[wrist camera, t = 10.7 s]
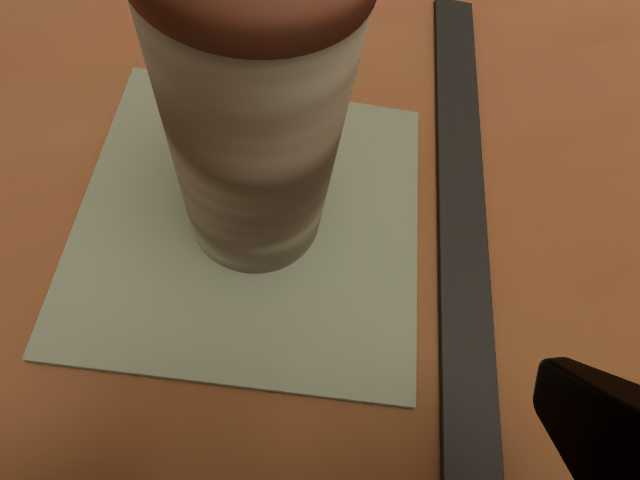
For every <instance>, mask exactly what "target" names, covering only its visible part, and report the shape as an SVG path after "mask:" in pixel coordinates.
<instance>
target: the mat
mask: <svg viewBox="0 0 640 480" xmlns="http://www.w3.org/2000/svg"><path fill="white" fill-rule="evenodd" d="M417 209H418V113H417V112H411V111H405V110H398V109H392V108H386V107H380V106H373V105H367V104H361V103H355V102H349V105H348V109H347V113H346V117H345V121H344V126H343V130H342V134H341V138H340V142H339V146H338V150H337V154H336V158H335V162H334V166H333V171H332V175H331V179H330V183H329V187H328V191H327V195H326V199H325V203H324V207H323V211H322V216H321V220H320V224H319V228H318V231H317V234H316V237H315V239H314V241H313V243H312V245H311V246H310V248H309V249H308V250H307V252H306V253H305V254H304V255H303V256H302V257H301V258H299V259H298V260H297V261H296V262H294V263H292V264H291V265H289V266H287V267H285V268H283V269H280V270H277V271H274V272H269V273H263V274H248V273H241V272H237V271H233V270H230V269H228V268H225V267H223V266H221V265H220V264H218V263H216V262H215V261H213V260H212V259H211V258H210V257H208V256H207V255H206V254H205V252H204V251H203V250H202V249H201V248H200V246H199V245H198V243H197V241H196V239H195V237H194V234H193V231H192V228H191V224H190V221H189V217H188V214H187V210H186V207H185V203H184V199H183V196H182V192H181V189H180V185H179V182H178V178H177V174H176V171H175V167H174V164H173V160H172V157H171V153H170V149H169V146H168V142H167V139H166V135H165V132H164V128H163V124H162V121H161V117H160V114H159V110H158V107H157V103H156V99H155V96H154V92H153V89H152V85H151V82H150V78H149V74H148V71H147V69H142V68H135V67H133V70H132V72H131V75H130V78H129V80H128V83H127V85H126V88H125V91H124V93H123V96H122V99H121V101H120V104H119V106H118V109H117V112H116V114H115V117H114V120H113V122H112V125H111V127H110V130H109V133H108V135H107V138H106V141H105V143H104V146H103V148H102V151H101V154H100V156H99V159H98V161H97V164H96V167H95V169H94V172H93V175H92V177H91V180H90V182H89V185H88V188H87V190H86V193H85V196H84V198H83V201H82V203H81V206H80V209H79V211H78V214H77V217H76V219H75V222H74V224H73V227H72V230H71V232H70V235H69V238H68V240H67V243H66V245H65V248H64V251H63V253H62V256H61V259H60V261H59V264H58V266H57V269H56V272H55V274H54V277H53V280H52V282H51V285H50V287H49V290H48V293H47V295H46V298H45V301H44V303H43V306H42V308H41V311H40V314H39V316H38V319H37V322H36V324H35V327H34V329H33V332H32V335H31V337H30V340H29V343H28V345H27V348H26V350H25V353H24V356H23V358H22V360H24V361H26V362H30V363H38V364H46V365H55V366H63V367H71V368H79V369H87V370H96V371H104V372H112V373H120V374H129V375H137V376H145V377H153V378H162V379H170V380H178V381H186V382H195V383H203V384H211V385H219V386H228V387H236V388H244V389H252V390H261V391H269V392H277V393H285V394H294V395H302V396H310V397H318V398H327V399H335V400H343V401H351V402H360V403H368V404H376V405H384V406H392V407H401V408H409V409H414V408H416V349H417Z"/></svg>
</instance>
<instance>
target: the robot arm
mask: <svg viewBox="0 0 640 480" xmlns="http://www.w3.org/2000/svg"><path fill="white" fill-rule="evenodd" d="M533 404H534V408H535V411H536V413H537V415H538V417H539V419H540V420H541V422H542V424H543V426H544V427H545V429H546V431H547V433H548V434H549V436H550V438H551V440H552V442H553V443H554V445H555V447H556V449H557V450H558V452H559V454H560V456H561V457H562V459H563V461H564V463H565V464H566V466H567V468H568V470H569V471H570V473H571V475H572V477H573V479H574V480H640V385H639V384H636V383H634V382H631V381H628V380H626V379H623V378H620V377H618V376H615V375H612V374H610V373H607V372H604V371H602V370H599V369H596V368H594V367H591V366H588V365H586V364H583V363H580V362H578V361H575V360H572V359H570V358H567V357H556V358H546V359H544V360H542V361H541V362H540V364H539V367H538V372H537V377H536V383H535V388H534V394H533Z"/></svg>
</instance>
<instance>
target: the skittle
mask: <svg viewBox="0 0 640 480" xmlns="http://www.w3.org/2000/svg"><path fill="white" fill-rule="evenodd" d="M128 3H129V7H130V10H131V14H132V17H133V21H134V24H135V28H136V32H137V35H138V39H139V42H140V46H141V49H142V53H143V57H144V60H145V64H146V67H147V71H148V74H149V78H150V82H151V85H152V89H153V92H154V96H155V99H156V103H157V107H158V110H159V114H160V117H161V121H162V124H163V128H164V132H165V135H166V139H167V142H168V146H169V149H170V153H171V157H172V160H173V164H174V167H175V171H176V174H177V178H178V182H179V185H180V189H181V192H182V196H183V199H184V203H185V207H186V210H187V214H188V217H189V221H190V224H191V228H192V231H193V234H194V237H195V239H196V241H197V243H198V245H199V246H200V248H201V249H202V250H203V251H204V252H205V254H206V255H207V256H208V257H210V258H211V259H212V260H213V261H215V262H216V263H218V264H220V265H221V266H223V267H225V268H228V269H230V270H233V271H237V272H241V273H248V274H263V273H269V272H274V271H277V270H280V269H283V268H285V267H287V266H289V265H291V264H292V263H294V262H296V261H297V260H298V259H299V258H301V257H302V256H303V255H304V254H305V253H306V252H307V250H308V249H309V248H310V246H311V245H312V243H313V241H314V239H315V237H316V234H317V231H318V228H319V224H320V220H321V216H322V211H323V207H324V203H325V199H326V195H327V191H328V187H329V183H330V179H331V175H332V171H333V166H334V162H335V158H336V154H337V150H338V146H339V142H340V138H341V134H342V130H343V126H344V121H345V117H346V113H347V109H348V105H349V101H350V97H351V93H352V89H353V85H354V81H355V77H356V72H357V68H358V64H359V60H360V56H361V52H362V48H363V44H364V40H365V36H366V32H367V27H368V23H369V19H370V15H371V12H372V10H373V8H374V6H375V3H376V0H128Z"/></svg>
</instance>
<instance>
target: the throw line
mask: <svg viewBox="0 0 640 480" xmlns="http://www.w3.org/2000/svg"><path fill="white" fill-rule="evenodd" d="M434 17H435V85H436V152H437V220H438V287H439V355H440V422H441V480H504V471H503V456H502V441H501V427H500V412H499V397H498V383H497V368H496V353H495V339H494V324H493V310H492V295H491V280H490V266H489V251H488V236H487V222H486V207H485V192H484V178H483V163H482V148H481V134H480V119H479V104H478V90H477V75H476V60H475V46H474V31H473V16H472V3H467V2H461V1H455V0H435V1H434Z"/></svg>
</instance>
